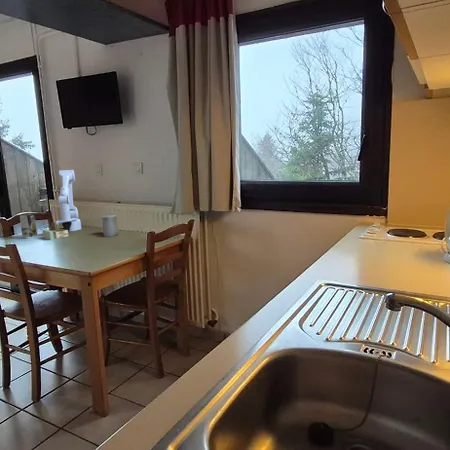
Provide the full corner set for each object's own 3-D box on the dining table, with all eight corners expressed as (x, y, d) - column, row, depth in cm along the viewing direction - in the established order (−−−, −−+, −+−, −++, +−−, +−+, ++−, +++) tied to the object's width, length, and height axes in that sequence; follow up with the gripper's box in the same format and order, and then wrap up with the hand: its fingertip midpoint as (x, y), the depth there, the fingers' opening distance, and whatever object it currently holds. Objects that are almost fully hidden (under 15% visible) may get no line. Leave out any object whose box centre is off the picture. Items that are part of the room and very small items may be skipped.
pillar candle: (114, 233, 284) (111, 211, 281) (121, 234, 277) (118, 213, 274) (101, 235, 278) (98, 214, 275) (107, 237, 270) (105, 215, 267)
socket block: (63, 234, 280) (62, 228, 279) (68, 236, 275) (67, 230, 274) (51, 236, 275) (51, 230, 274) (56, 238, 269) (56, 232, 268)
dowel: (55, 234, 286) (54, 222, 284) (57, 235, 284) (56, 222, 282) (51, 235, 284) (49, 222, 282) (53, 236, 282) (51, 223, 280)
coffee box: (31, 238, 277) (28, 215, 273) (22, 238, 277) (19, 215, 274) (37, 235, 286) (35, 212, 282) (28, 235, 286) (25, 213, 283)
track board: (71, 233, 287) (70, 224, 286) (80, 236, 278) (79, 226, 277) (41, 239, 273) (40, 229, 272) (50, 242, 263) (48, 232, 262)
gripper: (57, 215, 268) (59, 235, 270) (78, 212, 278) (80, 231, 280) (52, 214, 272) (55, 234, 275) (73, 211, 283) (75, 230, 285)
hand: (67, 233), depth 278 cm, fingers closed
